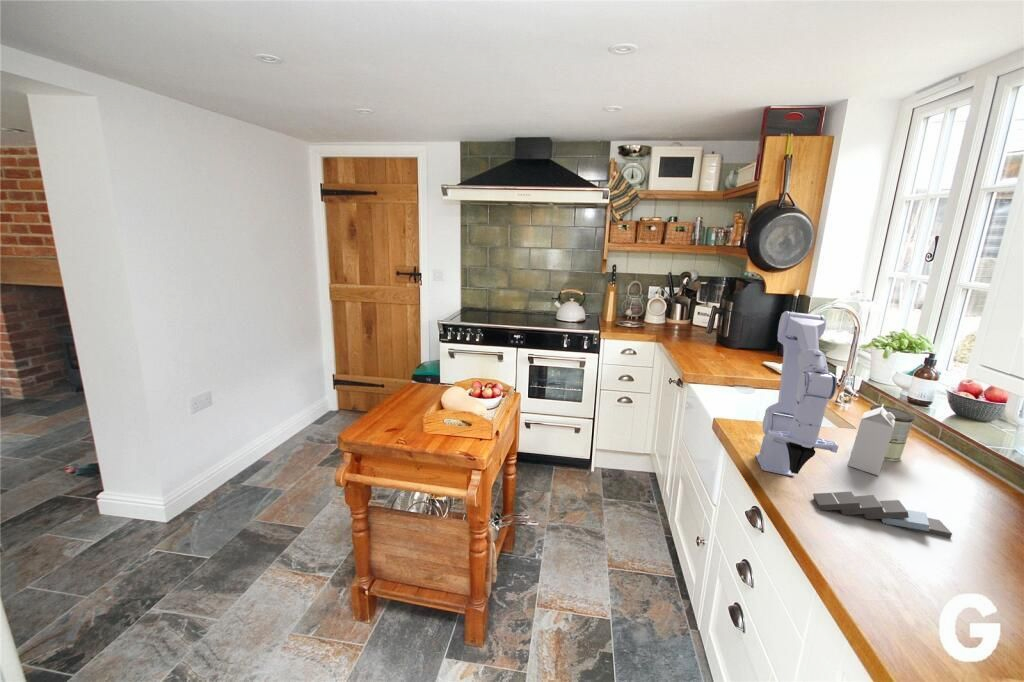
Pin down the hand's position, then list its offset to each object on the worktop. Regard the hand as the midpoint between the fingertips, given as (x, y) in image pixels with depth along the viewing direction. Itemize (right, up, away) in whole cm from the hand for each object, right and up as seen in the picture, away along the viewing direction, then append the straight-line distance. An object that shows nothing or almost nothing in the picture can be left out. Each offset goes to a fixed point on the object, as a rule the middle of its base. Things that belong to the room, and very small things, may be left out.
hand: (793, 471), depth 109 cm
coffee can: (+46, -3, +29) cm, 54 cm away
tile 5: (+22, -10, -5) cm, 25 cm away
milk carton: (+33, -5, +20) cm, 39 cm away
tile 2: (+10, -8, -2) cm, 12 cm away
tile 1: (+5, -7, -1) cm, 9 cm away
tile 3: (+14, -8, -3) cm, 17 cm away
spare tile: (+18, -9, -4) cm, 21 cm away
